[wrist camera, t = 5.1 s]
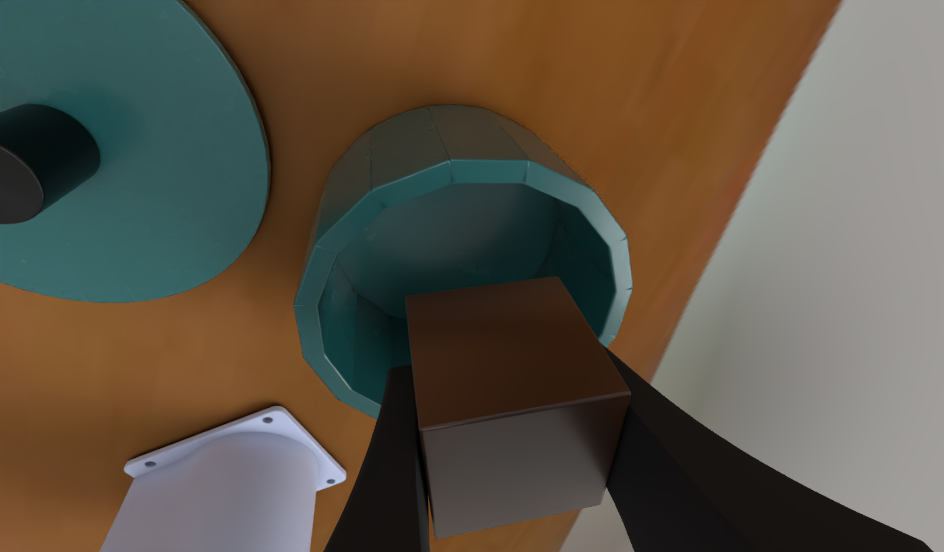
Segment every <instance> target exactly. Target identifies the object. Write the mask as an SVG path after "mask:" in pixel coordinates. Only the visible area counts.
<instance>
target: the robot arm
mask: <svg viewBox="0 0 944 552" xmlns="http://www.w3.org/2000/svg"><path fill="white" fill-rule="evenodd" d="M601 345H602V347H603V348H604V350H605V351H606V353H607V355H608V356H609V358H610V359H611V361H612V363H613V364H614V366H615V367H616V369H617V370H618V372H619V374H620V375H621V377H622V378H623V380H624V382H625V383H626V385H627V386H628V388H629V390H630V392H631V397H630V401H629V404H628V408H627V412H626V415H625V419H624V423H623V426H622V430H621V434H620V437H619V441H618V445H617V448H616V452H615V456H614V459H613V463H612V467H611V470H610V474H609V478H608V481H607V485H606V487H607V489H608V491H609V493H610V495H611V497H612V499H613V501H614V503H615V505H616V508H617V510H618V512H619V514H620V516H621V519H622V521H623V523H624V526H625V528H626V531H627V534H628V536H629V539H630V542H631V544H632V547H633V549H634V551H635V552H933V551H932V550H931V549H930V548H929V547H928V546H927V545H926V544H925V543H924V542H923V541H921V540H919V539H917V538H914V537H912V536H910V535H908V534H905V533H903V532H901V531H899V530H896V529H894V528H892V527H889V526H887V525H885V524H883V523H880V522H878V521H876V520H874V519H871V518H869V517H867V516H865V515H863V514H860V513H858V512H856V511H854V510H851V509H850V508H848V507H845V506H844V505H841V504H839V503H837V502H835V501H833V500H831V499H829V498H827V497H825V496H823V495H821V494H819V493H817V492H815V491H813V490H811V489H809V488H807V487H806V486H804V485H802V484H800V483H798V482H796V481H794V480H793V479H791V478H789V477H787V476H785V475H784V474H782V473H780V472H778V471H776V470H775V469H773V468H771V467H769V466H768V465H766V464H764V463H762V462H760V461H759V460H757V459H755V458H754V457H752V456H750V455H749V454H747V453H745V452H744V451H742V450H740V449H739V448H737V447H736V446H734V445H733V444H731V443H730V442H728V441H727V440H725V439H723V438H722V437H720V436H719V435H717V434H716V433H714V432H713V431H711V430H710V429H708V428H707V427H705V426H704V425H702V424H701V423H699V422H698V421H696V420H695V419H694V418H693V417H691V416H690V415H688V414H687V413H686V412H684V411H683V410H682V409H680V408H679V407H678V406H676V405H675V404H674V403H672V402H671V401H670V400H668V399H667V398H666V397H665V396H663V395H662V394H661V393H660V392H658V391H657V390H656V389H655V388H653V387H652V386H651V385H650V384H648V383H647V382H646V381H645V380H644V379H642V378H641V377H640V376H639V375H638V374H636V373H635V372H634V371H633V370H632V369H630V368H629V367H628V366H627V365H626V364H625V363H623V362H622V361H621V360H620V359H619V358H618V357H617V356H615V355H614V354H613V353H612V352H611V351H610V350H608V349H607V348H606V347H605V346H604V345H603V344H602V343H601ZM268 417H270V418H268ZM124 471H125V472H126V473H127V474H128V475H130V476H132V477H133V478H134V480H133V482H132V484H131V486H130V488H129V491H128V493H127V495H126V497H125V499H124V501H123V503H122V505H121V507H120V509H119V512H118V514H117V516H116V518H115V520H114V522H113V524H112V526H111V528H110V530H109V533H108V535H107V537H106V539H105V541H104V543H103V545H102V547H101V549H100V551H99V552H310V545H311V535H312V526H313V517H314V508H315V499H316V491H319V490H322V489H324V488H327V487H330V486H332V485H335V484H338V483H341V482H343V481H344V480H345V479H346V471H345V470H344V469H343V468H342V467H341V466H340V465H339V464H338V463H337V462H336V461H335V460H334V459H333V458H332V457H331V456H330V455H329V454H328V453H327V452H326V450H325V449H324V448H323V447H322V446H321V445H320V444H319V443H318V442H317V441H316V440H315V439H314V438H313V437H312V436H311V435H310V434H309V433H308V432H307V431H306V430H305V429H304V428H303V427H302V426H301V425H300V423H299V422H298V421H297V420H296V419H295V418H294V417H293V416H292V415H291V414H290V413H289V412H288V411H287V410H286V409H285V408H283V407H281V406H273V407H270V408H267V409H265V410H262V411H259V412H257V413H254V414H251V415H249V416H246V417H243V418H241V419H238V420H235V421H233V422H230V423H227V424H225V425H222V426H219V427H217V428H214V429H211V430H209V431H206V432H203V433H201V434H198V435H195V436H193V437H190V438H188V439H185V440H182V441H180V442H177V443H174V444H172V445H169V446H166V447H164V448H161V449H158V450H156V451H153V452H150V453H148V454H145V455H142V456H140V457H137V458H134V459H132V460H129V461H128V462H127V463H126V465H125V467H124ZM323 552H430V548H429V516H428V489H427V482H426V476H425V469H424V463H423V456H422V449H421V443H420V436H419V429H418V420H417V410H416V400H415V391H414V381H413V371H412V364H410V365H403V366H397V367H391V368H390V369H389V370H388V371H387V379H386V385H385V391H384V396H383V400H382V404H381V408H380V412H379V416H378V419H377V422H376V426H375V429H374V432H373V435H372V438H371V442H370V445H369V448H368V450H367V453H366V456H365V458H364V461H363V464H362V466H361V469H360V472H359V474H358V477H357V480H356V482H355V485H354V487H353V489H352V492H351V494H350V497H349V499H348V501H347V503H346V506H345V508H344V510H343V512H342V514H341V517H340V519H339V521H338V523H337V525H336V527H335V529H334V531H333V533H332V535H331V537H330V539H329V541H328V543H327V545H326V547H325V549H324V551H323Z"/></svg>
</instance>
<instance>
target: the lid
mask: <svg viewBox="0 0 944 552" xmlns="http://www.w3.org/2000/svg"><path fill="white" fill-rule="evenodd" d="M270 177H271V164H270V155H269V146H268V141H267V137H266V133H265V129H264V125H263V121H262V119H261V116H260V113H259V111H258V108H257V106H256V103H255V101H254V98H253V95H252V94H251V92H250V90H249V88H248V86H247V84H246V82H245V80H244V78H243V77H242V75H241V73H240V71H239V69H238V68H237V66H236V65H235V63H234V62H233V60H232V59H231V57H230V56H229V54H228V53H227V51H226V50H225V48H224V47H223V45H222V44H221V43H220V41H219V40H218V39H217V38H216V36H215V35H214V34H213V33H212V32H211V30H210V29H209V28H208V27H207V26H206V24H205V23H204V22H203V21H202V20H201V18H200V17H199V16H198V15H197V14H196V13H195V12H194V11H193V10H192V9H191V8H190V7H189V6H188V5H187V4H186V3H185V2H184V1H183V0H0V282H1V283H4V284H7V285H10V286H14V287H17V288H20V289H23V290H27V291H31V292H35V293H39V294H43V295H47V296H52V297H58V298H64V299H70V300H77V301H88V302H100V303H126V302H137V301H148V300H153V299H158V298H163V297H168V296H171V295H175V294H178V293H181V292H184V291H187V290H190V289H192V288H194V287H196V286H198V285H201V284H203V283H205V282H207V281H209V280H210V279H212V278H213V277H215V276H216V275H218V274H220V273H221V272H223V271H224V270H225V269H226V268H227V267H229V266H230V265H231V264H232V263H233V262H234V261H235V260H237V258H238V257H239V256H240V255H241V254H242V252H243V251H244V250H245V249H246V248H247V246H248V245H249V243H250V242H251V240H252V238H253V237H254V235H255V233H256V231H257V230H258V228H259V225H260V223H261V220H262V218H263V215H264V212H265V210H266V206H267V201H268V196H269V191H270Z"/></svg>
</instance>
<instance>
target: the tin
mask: <svg viewBox="0 0 944 552" xmlns="http://www.w3.org/2000/svg"><path fill="white" fill-rule="evenodd" d="M552 276H558V277H559V278H560V280H561V281H562V283H563V285H564V286H565V288H566V289H567V291H568V293H569V294H570V296H571V297H572V299H573V300H574V302H575V304H576V305H577V307H578V308H579V310H580V312H581V313H582V315H583V316H584V318H585V320H586V321H587V323H588V324H589V326H590V328H591V329H592V331H593V332H594V334H595V335H596V337H597V339H598V340H599V342H600V343H602V344H603V345H604V346H605V347H606V348H607V347H608V346H609V345H610V343H611V342H612V341H613V340H614V338H615V337H616V335H617V334H618V331H619V328H620V325H621V322H622V319H623V316H624V313H625V310H626V307H627V305H628V302H629V299H630V296H631V293H632V290H633V288H632V287H633V281H632V273H631V264H630V256H629V247H628V239H627V234H626V233H625V231H624V230H623V229H622V227H621V226H620V225H619V223H618V222H617V221H616V219H615V218H614V217H613V215H612V214H611V212H610V211H609V210H608V208H607V207H606V206H605V204H604V203H603V202H602V200H601V199H600V198H599V196H598V195H597V193H596V192H595V191H594V190H593V189H592V188H591V187H590V186H589V185H588V184H587V183H586V182H585V181H584V180H583V179H582V178H581V177H580V176H579V175H578V174H577V173H575V172H574V171H573V170H572V169H571V168H570V167H569V166H568V165H567V164H566V163H565V162H564V161H563V160H562V159H561V158H560V157H559V156H558V155H557V154H555V153H554V152H553V151H552V150H551V149H550V148H549V147H548V146H547V145H546V144H545V143H544V142H543V141H542V140H541V139H540V138H539V137H538V136H537V135H536V134H534V133H533V132H532V131H530V130H528V129H526V128H524V127H522V126H520V125H519V124H517V123H515V122H514V121H512V120H510V119H509V118H506V117H504V116H502V115H499V114H497V113H494V112H492V111H490V110H488V109H485V108H477V107H472V106H463V105H435V106H427V107H423V108H417V109H414V110H411V111H407V112H404V113H401V114H398V115H396V116H394V117H392V118H390V119H388V120H385V121H383V122H381V123H380V124H378V125H377V126H375V127H373V128H372V129H370V130H369V131H367V132H366V133H365V134H363V135H362V136H361V137H360V138H359V139H358V140H357V141H356V142H354V143H353V144H352V145H351V146H350V147H349V148H348V150H347V151H346V152H345V153H344V154H343V156H342V157H341V158H340V159H339V161H338V162H337V163H336V164H335V165H334V166H333V167H332V170H331V171H330V173H329V176H328V179H327V182H326V185H325V187H324V189H323V193H322V197H321V199H320V202H319V205H318V208H317V211H316V214H315V217H314V221H313V225H312V230H311V234H310V238H309V242H308V246H307V250H306V254H305V258H304V262H303V267H302V271H301V275H300V279H299V283H298V287H297V291H296V295H295V299H294V311H295V316H296V321H297V327H298V332H299V337H300V343H301V348H302V354H303V358H305V360H306V362H307V363H308V364H309V365H310V367H311V368H312V369H313V370H314V371H315V373H316V374H317V375H318V376H319V377H320V379H321V380H322V381H323V382H324V384H325V385H326V386H327V387H328V388H329V390H330V391H331V392H332V393H333V394H334V396H335V397H336V398H337V399H338V400H340V401H342V402H344V403H346V404H347V405H349V406H351V407H353V408H355V409H357V410H359V411H361V412H363V413H365V414H367V415H369V416H371V417H373V418H375V419H378V416H379V412H380V408H381V404H382V400H383V396H384V391H385V385H386V379H387V371H388V370H389V369H390V368H391V367H397V366H403V365H410V364H412V362H411V352H410V342H409V333H408V323H407V313H406V304H405V298H406V296H408V295H416V294H423V293H431V292H438V291H446V290H454V289H461V288H469V287H476V286H484V285H492V284H499V283H507V282H514V281H522V280H530V279H537V278H545V277H552Z"/></svg>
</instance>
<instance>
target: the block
mask: <svg viewBox="0 0 944 552" xmlns="http://www.w3.org/2000/svg"><path fill="white" fill-rule="evenodd" d="M405 304H406V313H407V323H408V333H409V342H410V352H411V362H412V371H413V381H414V391H415V400H416V410H417V420H418V429H419V436H420V443H421V449H422V456H423V463H424V469H425V476H426V482H427V489H428V496H429V502H430V509H431V516H432V522H433V529H434V536H435V538H436V539H441V538H446V537H450V536H455V535H460V534H464V533H469V532H474V531H479V530H483V529H488V528H493V527H497V526H502V525H507V524H512V523H516V522H521V521H526V520H530V519H535V518H540V517H545V516H549V515H554V514H559V513H563V512H568V511H573V510H578V509H582V508H587V507H592V506H596V505H600V504H601V503H602V499H603V496H604V492H605V489H606V485H607V481H608V478H609V474H610V470H611V467H612V463H613V459H614V456H615V452H616V448H617V445H618V441H619V437H620V434H621V430H622V426H623V423H624V419H625V415H626V412H627V408H628V404H629V401H630V397H631V392H630V390H629V388H628V386H627V385H626V383H625V382H624V380H623V378H622V377H621V375H620V374H619V372H618V370H617V369H616V367H615V366H614V364H613V363H612V361H611V359H610V358H609V356H608V355H607V353H606V351H605V350H604V348H603V347H602V345H601V343H600V342H599V340H598V339H597V337H596V335H595V334H594V332H593V331H592V329H591V328H590V326H589V324H588V323H587V321H586V320H585V318H584V316H583V315H582V313H581V312H580V310H579V308H578V307H577V305H576V304H575V302H574V300H573V299H572V297H571V296H570V294H569V293H568V291H567V289H566V288H565V286H564V285H563V283H562V281H561V280H560V278H559V277H558V276H552V277H545V278H537V279H530V280H522V281H514V282H507V283H499V284H492V285H484V286H476V287H469V288H461V289H454V290H446V291H438V292H431V293H423V294H416V295H408V296H406V298H405Z"/></svg>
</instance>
